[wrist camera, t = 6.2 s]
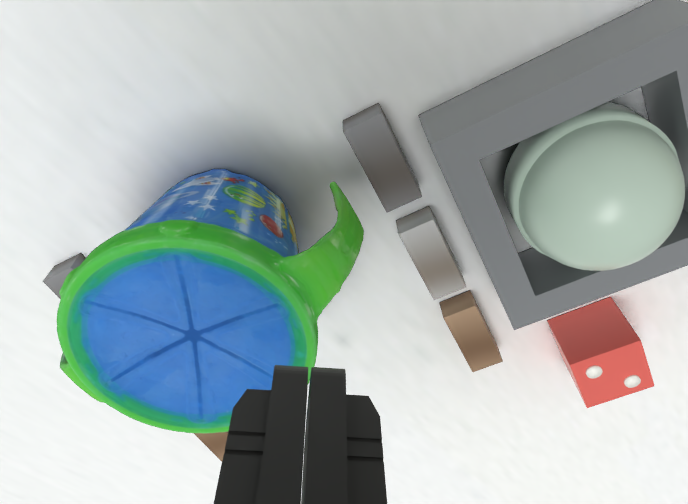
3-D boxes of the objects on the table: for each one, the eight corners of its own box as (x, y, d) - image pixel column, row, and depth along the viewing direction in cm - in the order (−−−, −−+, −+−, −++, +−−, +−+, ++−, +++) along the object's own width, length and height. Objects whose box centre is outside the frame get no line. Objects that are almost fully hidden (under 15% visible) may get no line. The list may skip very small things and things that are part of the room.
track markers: (54, 266, 33) (42, 281, 31) (378, 102, 28) (380, 112, 26) (226, 445, 41) (222, 462, 40) (497, 345, 36) (502, 361, 35)
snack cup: (319, 86, 27) (311, 173, 19) (391, 254, 32) (411, 382, 24) (54, 195, 30) (-59, 314, 22) (159, 333, 35) (102, 472, 27)
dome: (475, 134, 28) (513, 198, 22) (626, 63, 27) (712, 112, 20) (521, 246, 32) (564, 328, 26) (656, 191, 30) (736, 265, 24)
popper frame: (418, 115, 28) (429, 145, 25) (663, -5, 25) (713, 10, 22) (496, 286, 34) (514, 330, 30) (702, 205, 31) (747, 242, 28)
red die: (547, 320, 35) (570, 367, 32) (610, 296, 34) (642, 342, 31) (564, 361, 37) (587, 410, 34) (624, 340, 36) (655, 387, 33)
